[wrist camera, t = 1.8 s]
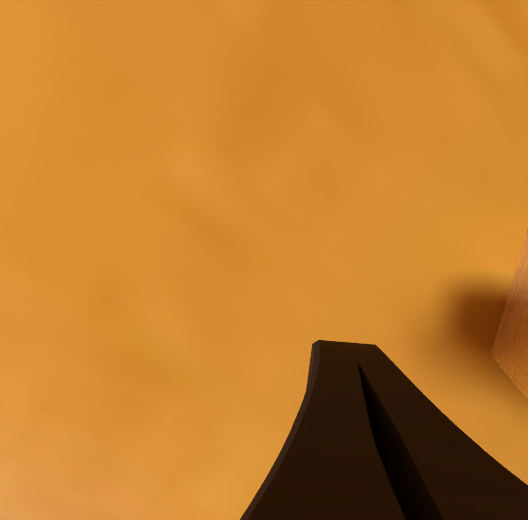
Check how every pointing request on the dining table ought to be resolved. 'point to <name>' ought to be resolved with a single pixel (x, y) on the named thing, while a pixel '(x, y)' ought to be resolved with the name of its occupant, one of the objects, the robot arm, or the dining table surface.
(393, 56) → the dining table surface
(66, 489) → the dining table surface
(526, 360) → the lock block
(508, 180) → the dining table surface
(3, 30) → the dining table surface
